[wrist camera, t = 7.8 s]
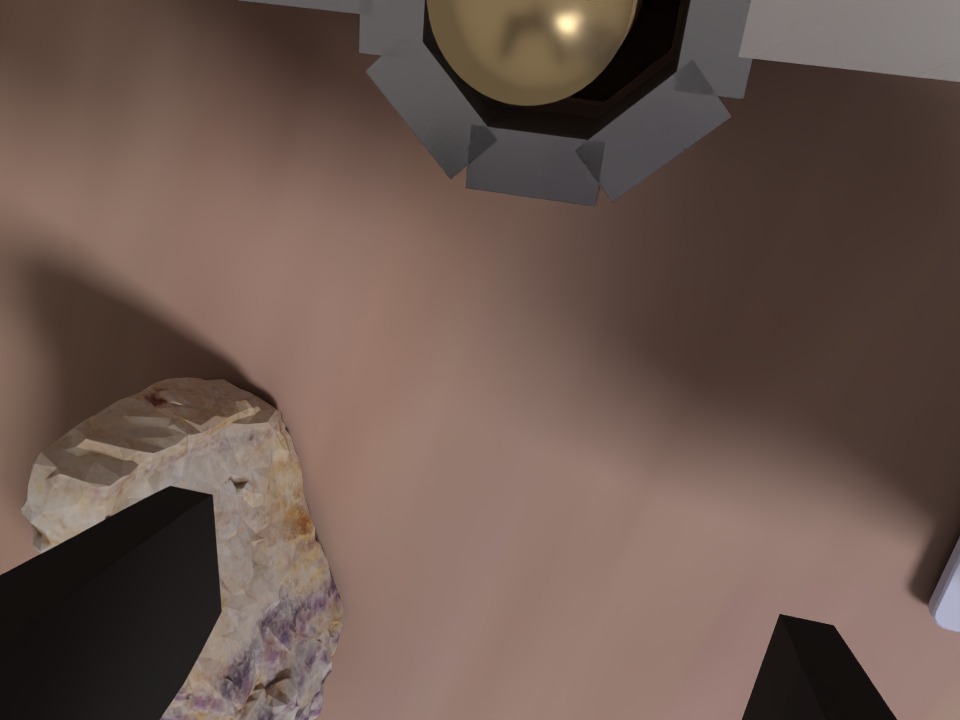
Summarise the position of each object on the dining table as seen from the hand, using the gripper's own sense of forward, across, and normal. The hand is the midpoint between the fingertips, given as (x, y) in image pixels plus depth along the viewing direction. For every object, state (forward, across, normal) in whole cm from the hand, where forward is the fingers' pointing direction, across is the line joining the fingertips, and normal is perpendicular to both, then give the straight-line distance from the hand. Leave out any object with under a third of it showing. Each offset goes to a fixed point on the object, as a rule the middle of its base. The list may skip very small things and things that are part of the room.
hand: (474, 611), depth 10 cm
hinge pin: (+9, 0, -7) cm, 12 cm away
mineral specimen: (+10, +9, +9) cm, 16 cm away
